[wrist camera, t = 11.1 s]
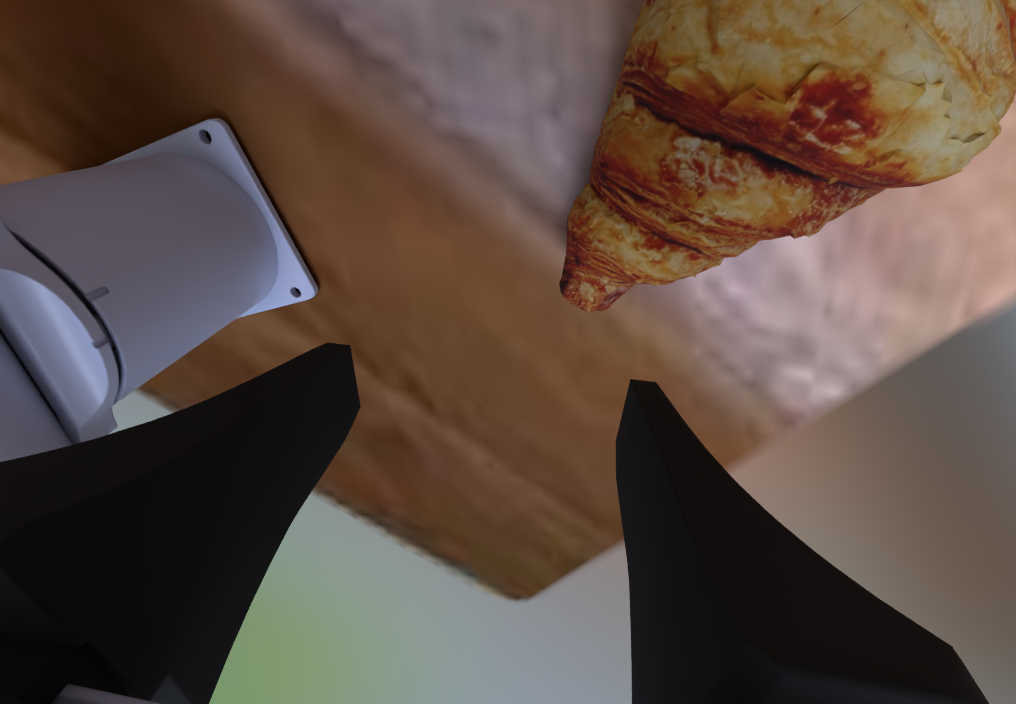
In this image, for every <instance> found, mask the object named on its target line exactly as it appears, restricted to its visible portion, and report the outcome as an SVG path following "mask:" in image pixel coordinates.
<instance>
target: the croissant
mask: <svg viewBox="0 0 1016 704" xmlns="http://www.w3.org/2000/svg"><path fill="white" fill-rule="evenodd" d="M1015 93H1016V0H645V1H644V3H643V5H642V8H641V11H640V14H639V17H638V19H637V22H636V25H635V28H634V30H633V33H632V36H631V39H630V41H629V44H628V47H627V49H626V52H625V55H624V59H623V63H622V68H621V72H620V75H619V78H618V81H617V84H616V87H615V90H614V93H613V96H612V98H611V101H610V104H609V107H608V110H607V113H606V115H605V117H604V120H603V122H602V125H601V130H600V134H599V137H598V139H597V142H596V145H595V151H594V157H593V162H592V166H591V171H590V176H589V178H590V184H586V185H585V187H584V189H583V191H582V192H581V194H580V195H579V196H578V197H577V198H576V199H575V201H574V204H573V206H572V208H571V211H570V213H569V216H568V218H567V249H566V257H565V262H564V268H563V275H562V278H561V280H560V283H559V284H560V291H561V293H562V295H563V297H564V300H566V301H567V302H569V303H571V304H573V305H575V306H577V307H579V308H581V309H582V310H584V311H586V312H593V311H598V310H599V311H603V310H605V309H608V308H609V307H610V306H611V305H612V304H613V303H614V302H615V301H616V300H617V299H618V298H619V297H620V296H622V295H623V294H624V293H625V292H626V291H627V290H629V289H630V288H631V287H632V286H634V285H635V284H636V283H637V284H651V285H655V286H656V285H666V284H669V283H672V282H674V281H676V280H677V279H682V278H686V277H689V276H693V277H696V274H697V273H700V272H703V271H705V270H707V269H709V268H712V267H715V266H718V265H720V264H721V262H722V260H723V259H724V258H725V257H736V256H738V255H739V254H741V253H743V252H744V251H746V250H748V249H749V248H751V247H752V246H754V245H755V244H756V243H757V242H758V241H761V240H771V239H776V238H781V237H785V236H792V237H793V238H794V239H796V238H798V237H801V236H804V235H805V236H808V237H809V236H811V235H813V234H815V233H817V232H819V231H820V230H821V228H822V227H823V226H824V225H825V224H826V222H829V221H831V220H834V219H836V218H837V217H839V216H841V215H842V214H844V213H845V212H847V211H848V210H850V209H851V208H853V207H856V206H859V205H861V204H863V203H864V202H865V201H866V200H867V199H869V198H870V197H872V196H874V195H876V194H878V193H880V192H881V191H883V190H885V189H886V188H901V187H913V186H921V185H924V184H928V183H931V182H935V181H938V180H941V179H944V178H947V177H949V176H951V175H954V174H956V173H958V172H961V171H962V170H963V168H964V167H965V166H966V165H967V164H968V163H969V161H970V160H971V159H972V158H973V157H974V156H975V155H977V154H978V153H980V152H981V151H983V150H984V149H986V148H987V147H988V146H989V145H990V143H991V142H992V141H993V140H994V139H995V138H996V137H997V136H998V134H999V133H1000V132H1001V126H1000V124H999V123H998V122H999V121H1000V120H1001V118H1002V117H1003V116H1004V115H1005V113H1006V112H1007V110H1008V109H1009V107H1010V105H1011V104H1012V102H1013V100H1014V96H1015Z"/></svg>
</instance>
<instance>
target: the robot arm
mask: <svg viewBox="0 0 1016 704" xmlns="http://www.w3.org/2000/svg"><path fill="white" fill-rule="evenodd" d="M206 131H208V133H209V134H210V135H211V138H212V139H211V141H210V140H209V139H208V138H207V136H206ZM295 287H296V288H297V289H299V290H300V292H301V294H299V293H298V292H297V291H296V290H295ZM317 293H318V287H317V285H316V283H315V281H314V279H313V277H312V276H311V274H310V272H309V270H308V268H307V267H306V265H305V263H304V261H303V259H302V257H301V256H300V254H299V252H298V250H297V248H296V247H295V245H294V243H293V241H292V239H291V238H290V236H289V234H288V232H287V230H286V228H285V227H284V225H283V223H282V221H281V219H280V218H279V216H278V214H277V212H276V210H275V208H274V207H273V205H272V203H271V201H270V199H269V198H268V196H267V194H266V192H265V190H264V189H263V187H262V185H261V183H260V181H259V179H258V178H257V176H256V174H255V172H254V170H253V169H252V167H251V165H250V163H249V161H248V160H247V158H246V156H245V154H244V152H243V150H242V149H241V147H240V145H239V143H238V141H237V140H236V138H235V136H234V134H233V132H232V130H231V129H230V127H229V126H228V124H227V123H226V122H224V121H223V120H222V119H219V118H214V119H207V120H205V121H203V122H200V123H198V124H196V125H193V126H191V127H189V128H186V129H184V130H182V131H179V132H177V133H175V134H172V135H170V136H168V137H165V138H163V139H161V140H158V141H156V142H154V143H151V144H149V145H147V146H144V147H142V148H140V149H137V150H135V151H133V152H130V153H128V154H126V155H123V156H121V157H119V158H116V159H114V160H112V161H109V162H107V163H105V164H102V165H100V166H96V167H91V168H86V169H80V170H75V171H70V172H65V173H60V174H55V175H50V176H44V177H39V178H34V179H29V180H24V181H19V182H14V183H9V184H3V185H0V704H209V702H210V699H211V697H212V694H213V692H214V689H215V687H216V685H217V682H218V680H219V677H220V674H221V672H222V670H223V667H224V665H225V662H226V660H227V657H228V655H229V652H230V650H231V648H232V645H233V643H234V641H235V639H236V636H237V634H238V632H239V630H240V627H241V625H242V623H243V621H244V619H245V616H246V614H247V612H248V610H249V607H250V605H251V603H252V601H253V598H254V596H255V594H256V592H257V590H258V588H259V586H260V584H261V582H262V580H263V578H264V576H265V573H266V571H267V569H268V567H269V565H270V563H271V561H272V559H273V557H274V555H275V553H276V551H277V550H278V548H279V546H280V544H281V542H282V540H283V538H284V536H285V534H286V532H287V530H288V528H289V526H290V525H291V523H292V521H293V519H294V518H295V516H296V515H297V513H298V511H299V510H300V508H301V506H302V505H303V503H304V502H305V500H306V499H307V497H308V496H309V494H310V493H311V491H312V490H313V488H314V487H315V485H316V484H317V482H318V481H319V479H320V478H321V476H322V475H323V473H324V472H325V470H326V469H327V467H328V466H329V464H330V463H331V461H332V459H333V458H334V456H335V455H336V453H337V452H338V450H339V449H340V447H341V445H342V444H343V442H344V441H345V439H346V437H347V435H348V433H349V431H350V429H351V427H352V425H353V422H354V420H355V418H356V416H357V413H358V411H359V409H360V401H359V395H358V389H357V383H356V377H355V372H354V366H353V360H352V354H351V348H350V345H343V344H335V343H326V344H324V345H321V346H319V347H316V348H314V349H312V350H310V351H308V352H306V353H304V354H302V355H300V356H298V357H296V358H294V359H292V360H290V361H288V362H286V363H284V364H282V365H280V366H278V367H276V368H274V369H272V370H270V371H268V372H266V373H264V374H262V375H260V376H258V377H256V378H253V379H251V380H249V381H247V382H245V383H243V384H240V385H238V386H236V387H234V388H232V389H230V390H227V391H225V392H223V393H221V394H219V395H216V396H214V397H212V398H210V399H207V400H205V401H203V402H200V403H198V404H195V405H193V406H190V407H188V408H185V409H183V410H180V411H177V412H175V413H172V414H169V415H167V416H164V417H161V418H158V419H156V420H153V421H150V422H147V423H144V424H141V425H137V426H134V427H131V428H128V429H125V430H121V431H118V432H115V433H112V434H109V433H110V432H111V431H113V430H114V429H115V428H117V423H116V421H115V419H114V417H113V412H112V406H113V405H114V404H116V403H117V402H118V401H120V400H121V399H123V398H124V397H125V396H127V395H128V394H130V393H131V392H133V391H134V390H135V389H137V388H138V387H140V386H141V385H143V384H144V383H145V382H147V381H148V380H150V379H151V378H152V377H154V376H155V375H157V374H158V373H160V372H161V371H162V370H164V369H165V368H167V367H168V366H169V365H171V364H172V363H174V362H175V361H177V360H178V359H179V358H181V357H182V356H184V355H185V354H187V353H188V352H189V351H191V350H192V349H194V348H195V347H196V346H198V345H199V344H201V343H202V342H204V341H205V340H206V339H208V338H209V337H211V336H212V335H213V334H215V333H216V332H218V331H219V330H221V329H222V328H223V327H225V326H226V325H228V324H229V323H230V322H232V321H233V320H235V319H236V318H239V317H243V316H246V315H250V314H254V313H258V312H262V311H266V310H270V309H274V308H277V307H281V306H285V305H289V304H293V303H297V302H301V301H304V300H308V299H311V298H313V297H314V296H315V295H316V294H317ZM107 434H109V435H107ZM616 480H617V488H618V496H619V504H620V511H621V519H622V526H623V533H624V541H625V548H626V555H627V562H628V574H629V588H630V589H629V590H630V617H631V659H632V704H989V703H988V701H987V700H986V698H985V696H984V695H983V693H982V692H981V690H980V688H979V687H978V685H977V684H976V682H975V681H974V679H973V678H972V676H971V675H970V673H969V671H968V670H967V668H966V666H965V665H964V663H963V662H962V660H961V659H960V657H959V656H958V655H957V653H956V652H955V650H954V649H953V647H952V646H950V645H949V644H947V643H946V642H944V641H943V640H941V639H940V638H938V637H936V636H935V635H934V634H932V633H930V632H929V631H927V630H926V629H924V628H923V627H921V626H920V625H918V624H916V623H915V622H914V621H912V620H911V619H909V618H907V617H906V616H905V615H903V614H902V613H900V612H898V611H897V610H895V609H894V608H892V607H891V606H889V605H888V604H886V603H885V602H883V601H882V600H880V599H879V598H877V597H875V596H874V595H873V594H872V593H870V592H869V591H867V590H866V589H865V588H863V587H862V586H860V585H859V584H858V583H856V582H855V581H853V580H852V579H851V578H849V577H848V576H847V575H845V574H844V573H843V572H841V571H839V570H838V569H837V568H836V567H834V566H833V565H832V564H830V563H829V562H828V561H827V560H825V559H824V558H823V557H821V556H820V555H819V554H817V553H816V552H815V551H813V550H812V549H811V548H810V547H809V546H807V545H806V544H805V543H804V542H803V541H801V540H800V539H799V538H798V537H796V536H795V535H794V534H793V533H792V532H790V531H789V530H788V529H787V528H786V527H784V526H783V525H782V524H781V523H780V522H778V521H777V520H776V519H775V518H774V517H773V516H772V515H771V514H769V513H768V512H767V511H766V510H765V509H764V508H763V507H762V506H761V505H760V504H759V503H758V502H757V501H756V500H754V499H753V498H752V497H751V496H750V495H749V494H748V493H747V492H746V491H745V490H744V489H743V488H742V487H741V486H740V485H739V484H738V483H737V482H736V481H735V480H734V479H733V478H732V477H731V476H730V475H729V474H728V473H727V471H726V470H725V469H724V468H723V467H722V466H721V465H720V464H719V463H718V461H717V460H716V459H715V458H714V457H713V456H712V455H711V454H710V453H709V451H708V450H707V449H706V448H705V447H704V445H703V444H702V443H701V442H700V440H699V439H698V438H697V437H696V435H695V434H694V433H693V432H692V430H691V429H690V428H689V427H688V425H687V424H686V423H685V421H684V420H683V419H682V417H681V416H680V414H679V413H678V412H677V410H676V409H675V408H674V406H673V405H672V404H671V402H670V401H669V399H668V398H667V397H666V395H665V394H664V392H663V391H662V390H661V388H660V387H659V386H658V384H657V383H656V382H649V381H641V380H633V379H630V383H629V388H628V392H627V396H626V400H625V405H624V409H623V413H622V417H621V422H620V426H619V430H618V434H617V439H616Z"/></svg>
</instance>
